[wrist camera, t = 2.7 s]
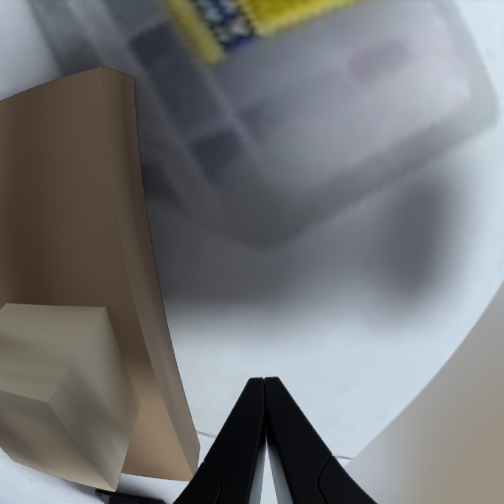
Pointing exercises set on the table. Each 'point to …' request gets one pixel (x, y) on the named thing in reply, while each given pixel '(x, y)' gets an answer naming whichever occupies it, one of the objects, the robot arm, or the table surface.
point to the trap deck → (93, 242)
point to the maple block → (65, 393)
